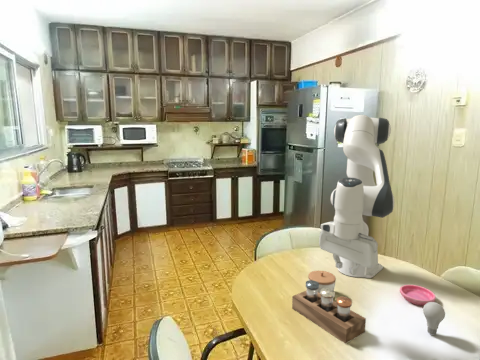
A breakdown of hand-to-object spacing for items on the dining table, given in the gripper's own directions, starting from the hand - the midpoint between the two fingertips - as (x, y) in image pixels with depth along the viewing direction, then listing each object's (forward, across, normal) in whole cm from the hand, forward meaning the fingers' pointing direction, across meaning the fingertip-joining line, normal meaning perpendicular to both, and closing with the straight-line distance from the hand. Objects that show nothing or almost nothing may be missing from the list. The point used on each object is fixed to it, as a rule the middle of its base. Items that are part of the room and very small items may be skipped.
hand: (345, 270), depth 103 cm
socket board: (+21, +7, 0) cm, 22 cm away
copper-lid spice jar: (+17, 0, 0) cm, 17 cm away
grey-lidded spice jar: (+17, +14, 0) cm, 22 cm away
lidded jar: (+21, +20, -12) cm, 32 cm away
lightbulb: (+21, -18, -22) cm, 36 cm away
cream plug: (+17, +7, 0) cm, 18 cm away
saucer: (+22, -4, -40) cm, 46 cm away
